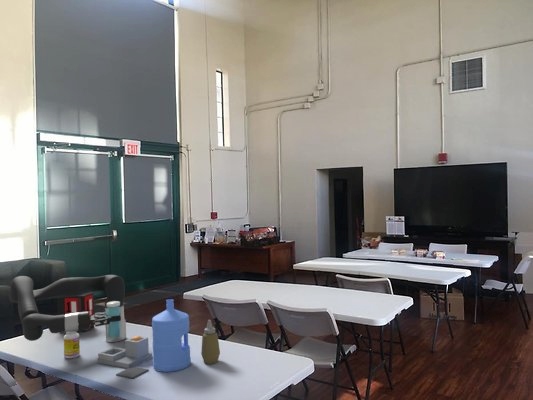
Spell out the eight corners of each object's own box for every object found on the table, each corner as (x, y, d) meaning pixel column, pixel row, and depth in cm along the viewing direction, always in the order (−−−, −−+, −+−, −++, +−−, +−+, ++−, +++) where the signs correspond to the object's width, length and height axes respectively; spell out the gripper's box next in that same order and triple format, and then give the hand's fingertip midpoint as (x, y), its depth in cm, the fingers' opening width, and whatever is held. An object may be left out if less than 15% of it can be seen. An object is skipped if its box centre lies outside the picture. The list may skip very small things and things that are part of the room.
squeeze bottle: (223, 359, 191) (221, 318, 191) (215, 366, 183) (213, 323, 183) (206, 357, 193) (205, 317, 193) (198, 364, 186) (196, 322, 186)
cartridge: (114, 333, 190) (113, 300, 190) (123, 334, 187) (122, 302, 187) (104, 336, 185) (103, 303, 185) (113, 338, 183) (112, 304, 182)
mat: (132, 367, 185) (132, 366, 185) (148, 370, 180) (148, 369, 180) (116, 375, 177) (116, 374, 177) (132, 379, 173) (132, 377, 173)
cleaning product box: (94, 327, 249) (93, 292, 249) (85, 332, 240) (84, 296, 240) (68, 327, 252) (66, 292, 252) (58, 331, 243) (57, 296, 243)
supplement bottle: (73, 359, 198) (72, 331, 198) (61, 358, 199) (60, 330, 199) (82, 354, 204) (81, 326, 204) (70, 353, 206) (69, 326, 206)
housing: (121, 352, 205) (120, 333, 205) (152, 357, 196) (151, 337, 196) (97, 362, 192) (96, 342, 193) (129, 368, 184) (128, 347, 184)
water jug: (158, 375, 175) (155, 306, 175) (149, 363, 189) (147, 299, 189) (195, 367, 182) (193, 300, 182) (184, 356, 196) (182, 294, 196)
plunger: (137, 346, 197) (136, 335, 197) (142, 347, 196) (142, 336, 196) (131, 349, 194) (130, 337, 194) (137, 350, 192) (136, 338, 192)
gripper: (78, 326, 188) (120, 320, 194) (76, 335, 174) (121, 329, 180) (77, 308, 187) (119, 304, 194) (76, 317, 174) (121, 311, 180)
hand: (120, 316), depth 187 cm, fingers closed on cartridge, 4 cm apart
